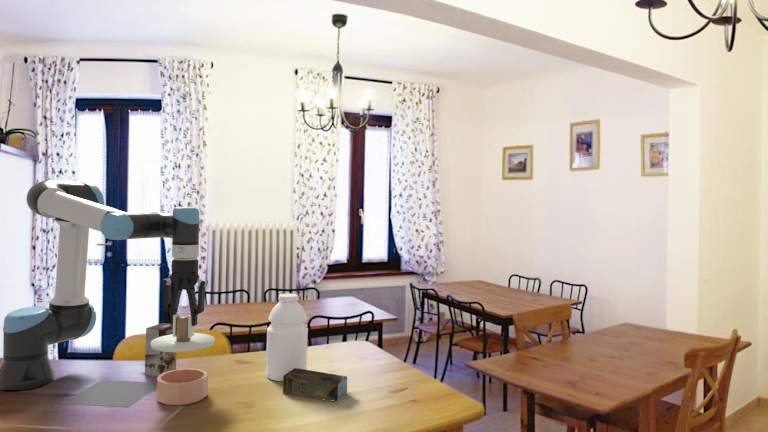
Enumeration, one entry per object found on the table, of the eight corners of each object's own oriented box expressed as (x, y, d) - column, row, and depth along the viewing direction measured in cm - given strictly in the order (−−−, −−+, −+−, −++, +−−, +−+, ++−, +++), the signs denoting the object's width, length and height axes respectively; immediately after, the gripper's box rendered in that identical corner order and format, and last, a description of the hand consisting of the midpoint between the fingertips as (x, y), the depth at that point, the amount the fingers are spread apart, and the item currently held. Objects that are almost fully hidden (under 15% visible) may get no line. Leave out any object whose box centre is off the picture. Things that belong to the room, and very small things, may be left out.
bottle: (259, 380, 171) (261, 297, 171) (274, 367, 185) (276, 290, 184) (299, 383, 169) (301, 299, 169) (311, 370, 183) (314, 292, 182)
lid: (138, 350, 145) (139, 322, 145) (167, 335, 163) (168, 310, 163) (200, 353, 144) (201, 325, 144) (223, 337, 162) (223, 312, 162)
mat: (60, 404, 146) (60, 403, 146) (102, 381, 166) (102, 379, 166) (128, 408, 145) (128, 407, 145) (162, 384, 165) (162, 382, 165)
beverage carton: (337, 403, 154) (338, 381, 154) (281, 394, 160) (281, 373, 160) (347, 394, 162) (348, 373, 162) (293, 386, 167) (293, 366, 167)
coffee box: (160, 377, 171) (162, 329, 171) (143, 375, 172) (145, 327, 172) (177, 369, 180) (178, 323, 180) (160, 367, 181) (161, 322, 181)
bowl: (147, 405, 148) (148, 382, 147) (170, 387, 162) (170, 367, 162) (195, 407, 147) (195, 385, 147) (213, 390, 161) (214, 369, 161)
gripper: (151, 258, 150) (149, 338, 151) (208, 260, 149) (206, 340, 150) (163, 256, 158) (161, 331, 158) (217, 258, 157) (215, 334, 157)
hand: (183, 335), depth 154 cm, fingers closed on lid, 4 cm apart
